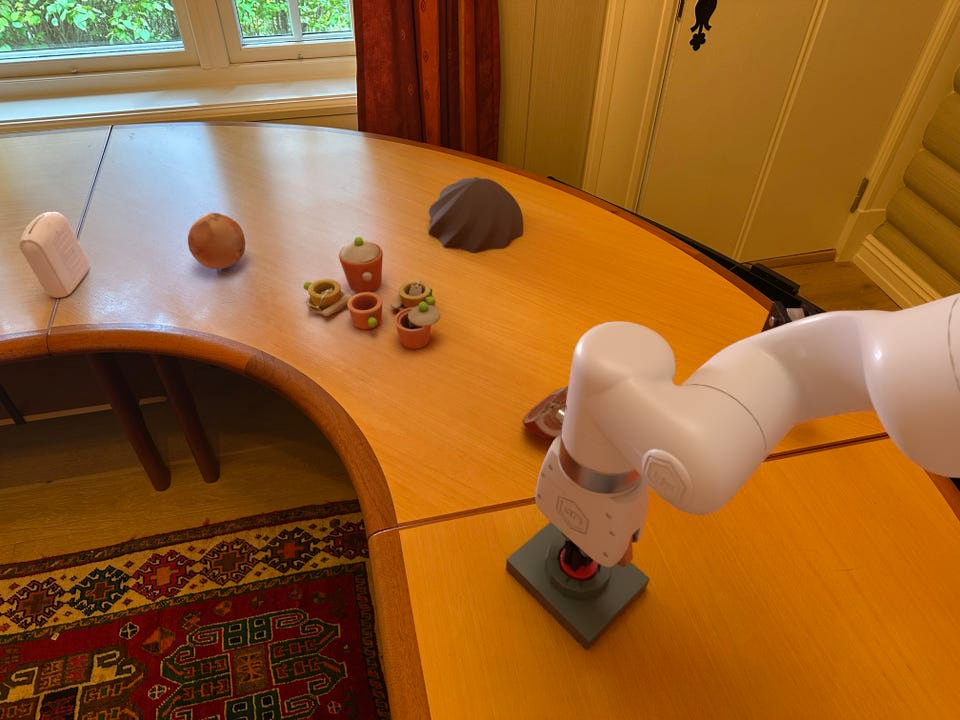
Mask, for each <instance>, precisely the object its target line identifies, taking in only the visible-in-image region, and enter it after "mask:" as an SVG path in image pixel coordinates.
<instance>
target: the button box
mask: <svg viewBox="0 0 960 720" xmlns="http://www.w3.org/2000/svg"><path fill="white" fill-rule="evenodd" d="M565 540H566V539H565V538H564V537H563V536H562V533H561V531H560V530H559V529H558V528H557V527H556V526H555V525H554V524H553V523H551V522H550V521H549V522H548V523H547V524H546V525H544V527H542V528H541V529H540V530H539V531H538V532H536V533H535V534H534V535H533V536H532V537H531V538H530V539H528V540H527V541H526V542H524V544H523V545H521V546H520V547H519V548H518V549H517V550H516V551H514V552H513V553H511V555H510V556H508V557H507V558H506V559H505V570H506V571H507V572H508V573H509V574H510V575H511V576H512V577H513V578H514V579H515V580H516V581H517V582H518V583H519V584H520V585H521V586H522V587H523V588H524V589H525V590H526V591H527V593H529V594H530V595H531V596H532V597H533V598H534V599H535V600H536V601H537V602H538V603H539V604H540V605H541V606H542V607H543V608H544V609H545V610H546V611H547V612H548V613H549V614H550V615H551V616H552V617H553V618H554V619H555V620H556V621H557V622H558V623H559V624H560V625H561V627H563V629H565V630H566V631H567V632H568V633H569V635H571V636H572V637H573V638H574V639H575V641H576V642H577V643H579V645H580V646H582V647H583V648H584V650H586V651H588V650H589V649H590V648H591V647H592V646H593V645H594V644H595V643H596V642H597V640H599V638H600V637H602V636H603V634H604V633H605V632H606V631H607V630H608V629H609V628H610V627H611V626H612V625H613V624H614V623H615V622H616V621H617V620H618V619H619V618H620V617H621V616H622V614H623V613H624V612H625V611H626V610H627V609H628V608H629V607H630V606H631V605H632V604H633V603H634V602H635V601H636V600H637V599H638V598H639V597H640V595H642V593H643V592H645V590H646V589H647V587H648V586H649V585H648V584H649V582H650V580H651V578H650V577H649V576H648V575H646V574H645V573H644V572H643V571H642V570H640V569H639V567H637V566H636V565H635V564H634V563H632V561H630V562H629V563H628V564H627V565H626V566H625V567H621V566H620V565H618V564H617V563H616V564H615V565H614V566H612V567H605V566H603V565H601V564H599V563H598V567H597V571H596V574H595V576H594V577H593V578H592V579H590V580H585V581H578V580H575V579H571V578H569V577H568V576H567V575H566V574H565V573H564V572H562V571H561V569H560V566H559V563H560V557H561V553H562V551H563V550H564V545H565Z"/></svg>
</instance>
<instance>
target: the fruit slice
mask: <svg viewBox="0 0 960 720" xmlns="http://www.w3.org/2000/svg"><path fill="white" fill-rule="evenodd" d="M568 386H569V385H567V386H564V387H561V388H558V389H555V390H553V391H552V392H551V393H549V395H547V396H546V397H545V398H543V399H542V400H541V401H540V402H538V403H537V404H536V405H535V406H533V407H532V408H531V409H530V410H529V411H528V412H527V413H526V414H525V416H524V417H523V419H522V424H523V426H524V427H525V428H526V429H527V430H528V431H529V432H530V434H531V433H532V434H533V435H535V436H536V437H538V438H541V439H548V440H552V439H555V438H556V437H558V436H559V435H561V430H562V429H561V428H560V427H561V426H560V423H558V422H557V421H556V420H555V419H554V418H555V415H556V413H557V412H558V411H559V410H560V409H561V408H564V409H565V406H566V400H567V393H568Z"/></svg>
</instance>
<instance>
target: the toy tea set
mask: <svg viewBox="0 0 960 720" xmlns="http://www.w3.org/2000/svg"><path fill="white" fill-rule="evenodd" d="M382 249H383V248H381V246H379V244H377V243H375V242H371V241H368V240H365V239H363V238H362V237H361V236H356V237H355V238H354V240H353V241H351V242H349V243H347V244H346V245H345V246H343V247H342V248H341V249H340V251H339V253H338V259H339V262H340V265H341V268H342V271H343V273H344V275H345V279H346V282H347V284H348V287H349V288H350V289H351V291H353V292H356V294H354V295H353V296H352V295H351V294H346V293H345V292H343V291H342V289H341V288H342V286H341V284H340V282H339V281H337V280H335V279H331V278H321V279H317V280H314V281H313V282H311V281H305V282H304V283H303V284H302V285H303V287H302V288H303V289H304V290H305V291H307V292H308V295H309V297H308V299H307V301H304V303H305V304H307V307H308V309H309V311H311V312H313V313H315V314H318V315H322V316H324V317H329V316H331V315H332V314H334V313H336V312H339V311H341V310H342V309H343V308H345V306H347V309H348V311H349V314H350V317H351V319H352V322H353V324H354V325H355V326H356V328H358V329H361V330H370V329H371V330H372V329H374V328H377V327H378V326H379V325H380V324H381V323H382V319H383V304H384V303H383V298H382V296H380V294H379V293H376V292H374V291H376V290H377V289H379V287H381V284H382V279H383V278H382V277H383V276H382V275H383V259H384V257H383V256H384V253H383V250H382ZM435 305H436V299H435V297H434V295H433V288H432V287H431V286H430V285H429V283H427V282H425V281H423V280H422V279H419V280H409V281H406V282H404V283H402V284H401V285H400V286H399V287H398V293H397V296H395V298H393V299H392V300H391V301H390V307H391V308H392V309H397V310H398V313H397V314H396V315H395V317H394V325H395V328H396V331H397V334H398V337H399V340H400V343H401V344H402V345H403V347H405V348H407V349H410V350H419V349H422V348H424V347H426V346H427V344H428V343H429V341H430V338H431V329H432V326H433V325H435V324H437V323H438V322H439V320H440V318H441V312H440V310H439V309H438V308H437V307H435Z"/></svg>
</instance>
